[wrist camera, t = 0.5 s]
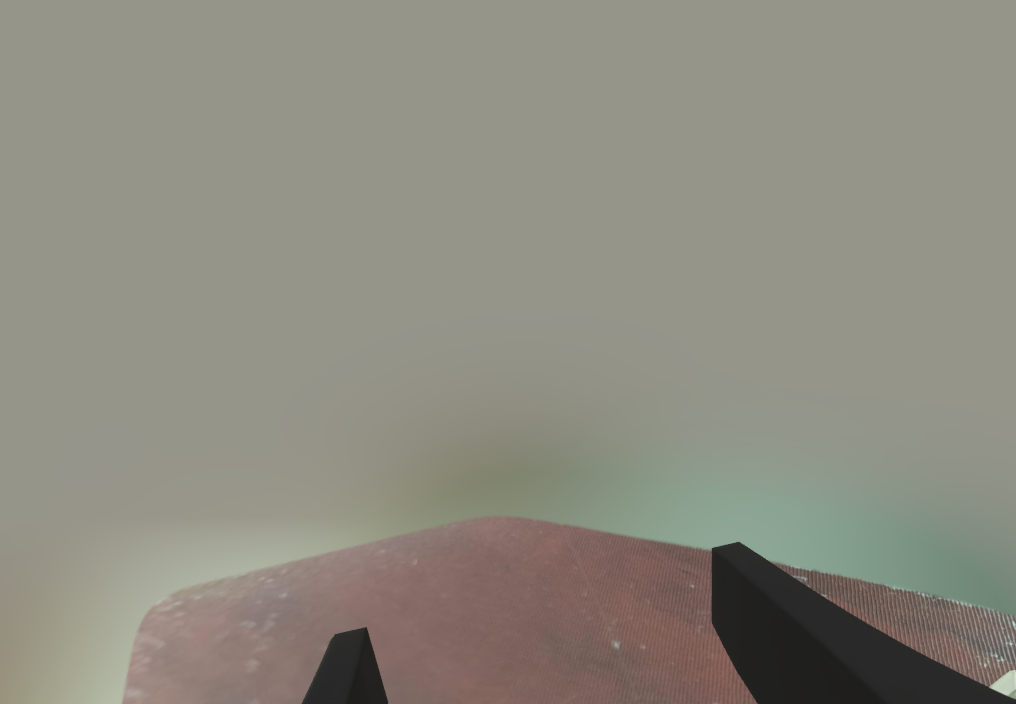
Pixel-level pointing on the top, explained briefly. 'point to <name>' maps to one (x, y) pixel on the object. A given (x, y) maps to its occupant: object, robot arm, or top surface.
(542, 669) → the top surface
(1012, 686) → the green faceted cup
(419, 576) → the top surface
